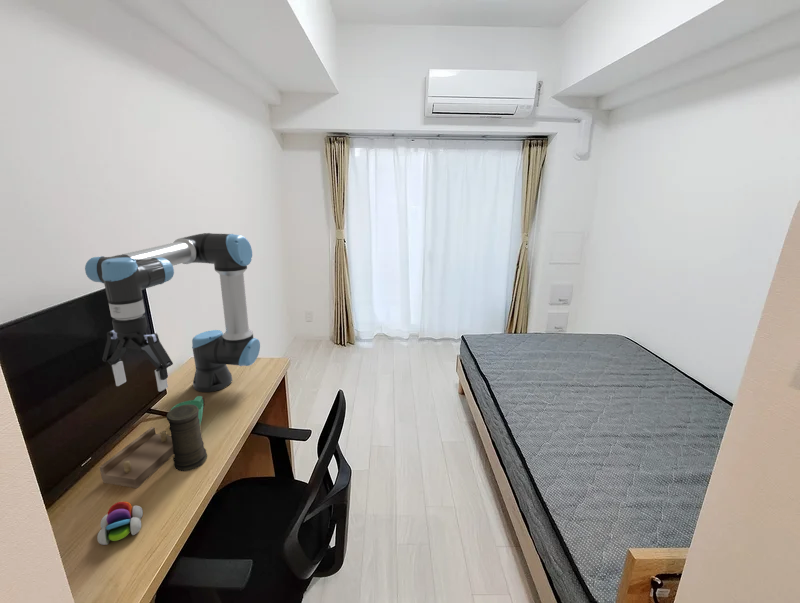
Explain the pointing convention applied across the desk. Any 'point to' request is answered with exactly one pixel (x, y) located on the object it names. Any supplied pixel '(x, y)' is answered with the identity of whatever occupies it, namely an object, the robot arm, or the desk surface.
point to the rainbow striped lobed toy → (120, 522)
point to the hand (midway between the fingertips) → (142, 386)
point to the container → (186, 437)
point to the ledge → (138, 459)
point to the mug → (197, 402)
